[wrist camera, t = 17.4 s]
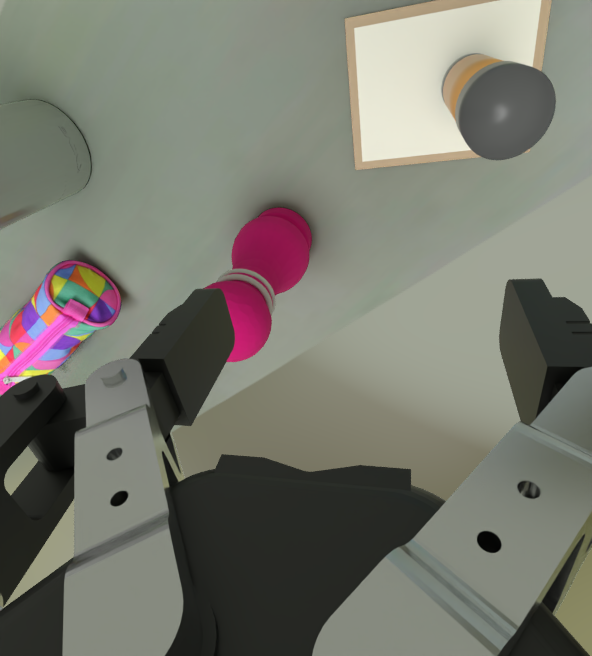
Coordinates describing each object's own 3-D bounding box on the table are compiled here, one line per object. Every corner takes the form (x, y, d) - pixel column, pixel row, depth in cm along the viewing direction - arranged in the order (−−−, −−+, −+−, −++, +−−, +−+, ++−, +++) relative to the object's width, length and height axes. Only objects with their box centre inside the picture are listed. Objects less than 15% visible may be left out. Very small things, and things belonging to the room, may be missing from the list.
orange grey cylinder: (439, 118, 33) (459, 164, 22) (440, 57, 31) (463, 73, 20) (496, 110, 32) (547, 154, 21) (502, 46, 30) (563, 57, 19)
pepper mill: (301, 192, 40) (231, 297, 24) (326, 258, 43) (279, 390, 27) (237, 214, 43) (135, 322, 27) (265, 275, 46) (190, 404, 30)
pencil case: (65, 369, 63) (21, 412, 56) (11, 327, 60) (-43, 367, 53) (141, 296, 52) (97, 339, 45) (78, 240, 49) (22, 276, 42)
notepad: (355, 168, 38) (355, 170, 37) (345, 18, 32) (344, 18, 31) (528, 150, 34) (530, 152, 33) (552, -23, 28) (556, -24, 27)
